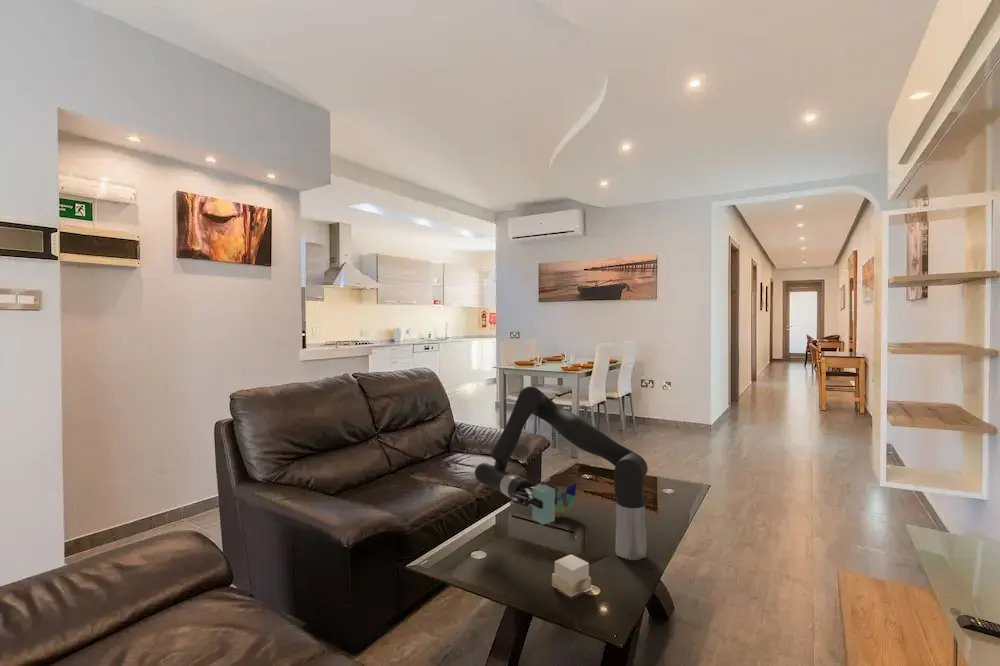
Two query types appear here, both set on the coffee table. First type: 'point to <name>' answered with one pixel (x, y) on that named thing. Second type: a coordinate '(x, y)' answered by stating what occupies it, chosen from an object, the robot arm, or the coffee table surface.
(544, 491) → the teal block
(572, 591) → the tower base block
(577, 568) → the tower top block
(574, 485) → the decorative sculpture
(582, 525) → the coffee table surface
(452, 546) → the coffee table surface
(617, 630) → the coffee table surface
